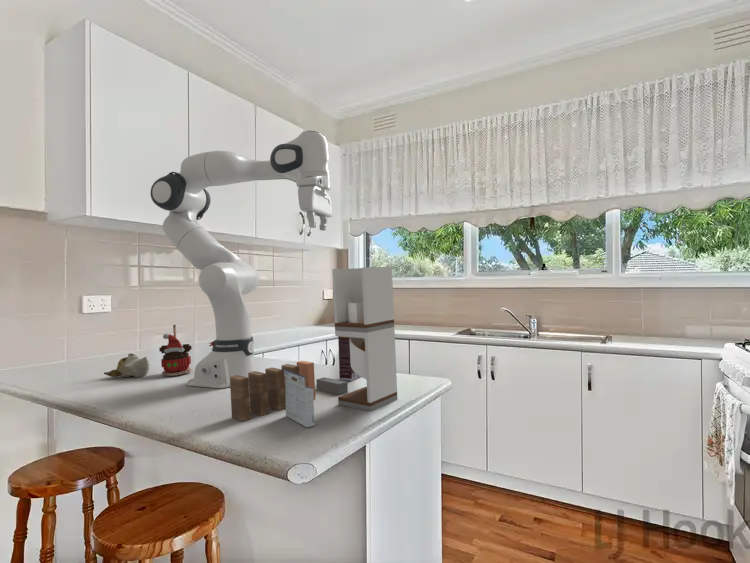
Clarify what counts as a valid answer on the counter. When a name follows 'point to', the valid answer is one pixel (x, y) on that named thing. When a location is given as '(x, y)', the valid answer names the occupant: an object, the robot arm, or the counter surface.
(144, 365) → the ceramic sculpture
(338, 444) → the counter surface
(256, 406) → the domino
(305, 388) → the ink box
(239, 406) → the domino
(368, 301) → the white tower
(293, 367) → the domino
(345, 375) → the supplement box
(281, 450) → the counter surface
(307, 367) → the end domino
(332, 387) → the block
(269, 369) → the domino
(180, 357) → the santa mouse candy apple
